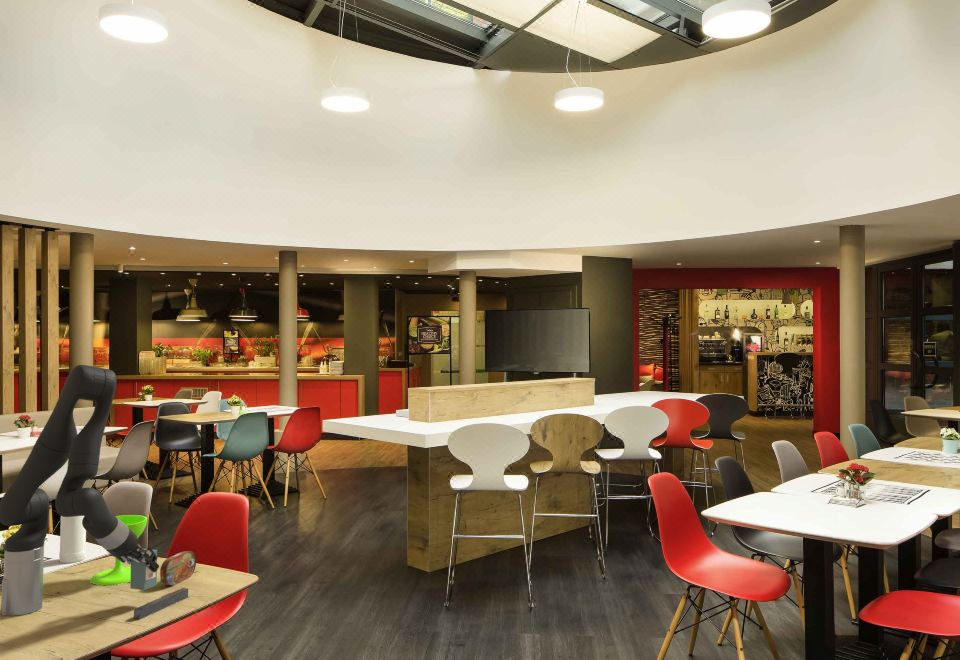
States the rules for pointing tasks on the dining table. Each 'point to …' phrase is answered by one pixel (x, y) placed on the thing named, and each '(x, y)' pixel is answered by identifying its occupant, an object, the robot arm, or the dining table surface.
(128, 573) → the wineglass
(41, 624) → the dining table surface
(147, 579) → the carton
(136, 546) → the robot arm
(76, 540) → the bottle
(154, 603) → the price rail
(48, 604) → the dining table surface
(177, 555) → the tin
